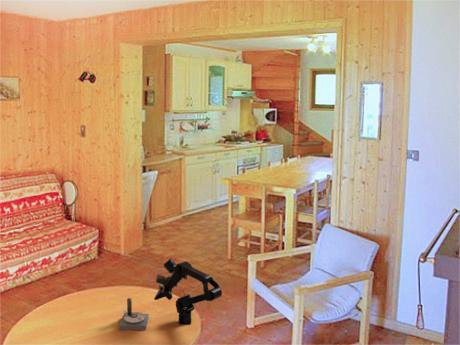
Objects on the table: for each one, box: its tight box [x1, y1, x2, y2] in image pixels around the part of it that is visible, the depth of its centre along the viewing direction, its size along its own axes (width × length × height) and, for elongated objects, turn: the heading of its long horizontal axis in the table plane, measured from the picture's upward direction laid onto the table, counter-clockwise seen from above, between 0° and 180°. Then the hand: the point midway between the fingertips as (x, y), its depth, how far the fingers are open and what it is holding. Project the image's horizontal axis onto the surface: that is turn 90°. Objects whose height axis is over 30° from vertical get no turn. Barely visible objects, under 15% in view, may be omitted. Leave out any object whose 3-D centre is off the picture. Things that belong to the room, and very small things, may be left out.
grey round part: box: [124, 297, 145, 324], centre depth 275 cm, size 11×13×10 cm
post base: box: [118, 308, 150, 331], centre depth 275 cm, size 14×14×6 cm
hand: (154, 299), depth 279 cm, fingers closed
